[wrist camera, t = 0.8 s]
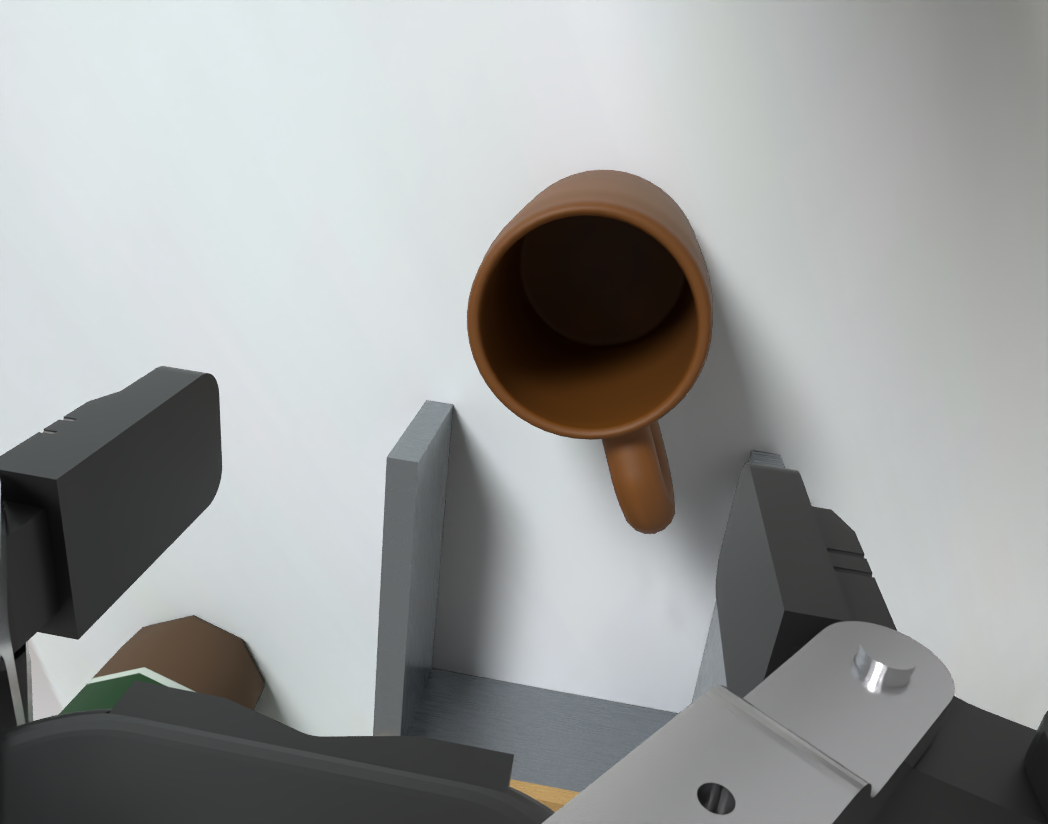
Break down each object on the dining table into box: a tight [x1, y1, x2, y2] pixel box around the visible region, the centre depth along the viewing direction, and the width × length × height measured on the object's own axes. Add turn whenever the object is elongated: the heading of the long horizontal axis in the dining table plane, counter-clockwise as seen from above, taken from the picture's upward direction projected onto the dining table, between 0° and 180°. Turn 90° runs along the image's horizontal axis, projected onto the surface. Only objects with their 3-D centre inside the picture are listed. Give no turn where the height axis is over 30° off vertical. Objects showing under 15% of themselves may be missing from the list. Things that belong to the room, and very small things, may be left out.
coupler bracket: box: [373, 400, 785, 812], centre depth 36 cm, size 16×15×7 cm
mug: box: [467, 170, 713, 534], centre depth 30 cm, size 12×8×9 cm, turn 18°
